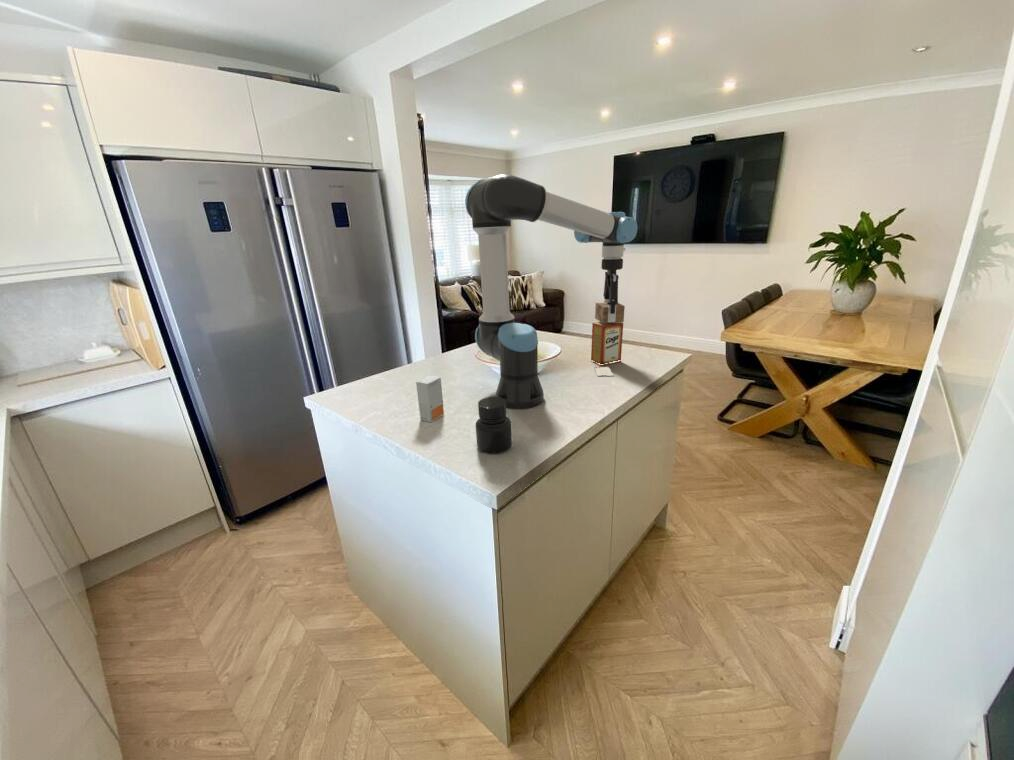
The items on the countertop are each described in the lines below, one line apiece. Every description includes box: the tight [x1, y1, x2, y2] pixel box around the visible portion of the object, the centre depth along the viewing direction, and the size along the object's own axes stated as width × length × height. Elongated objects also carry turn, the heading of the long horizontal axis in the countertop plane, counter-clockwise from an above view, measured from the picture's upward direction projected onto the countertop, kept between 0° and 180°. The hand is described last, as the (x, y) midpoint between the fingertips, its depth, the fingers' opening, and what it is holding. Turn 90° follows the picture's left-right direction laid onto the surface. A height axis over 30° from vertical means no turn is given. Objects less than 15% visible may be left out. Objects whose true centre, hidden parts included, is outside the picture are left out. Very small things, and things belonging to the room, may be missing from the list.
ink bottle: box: [475, 396, 513, 455], centre depth 98 cm, size 10×9×12 cm
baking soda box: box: [590, 321, 624, 364], centre depth 156 cm, size 10×6×16 cm
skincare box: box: [415, 375, 445, 423], centre depth 115 cm, size 6×4×12 cm
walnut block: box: [594, 301, 626, 323], centre depth 151 cm, size 9×8×6 cm
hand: (609, 318), depth 152 cm, fingers closed on walnut block, 10 cm apart
